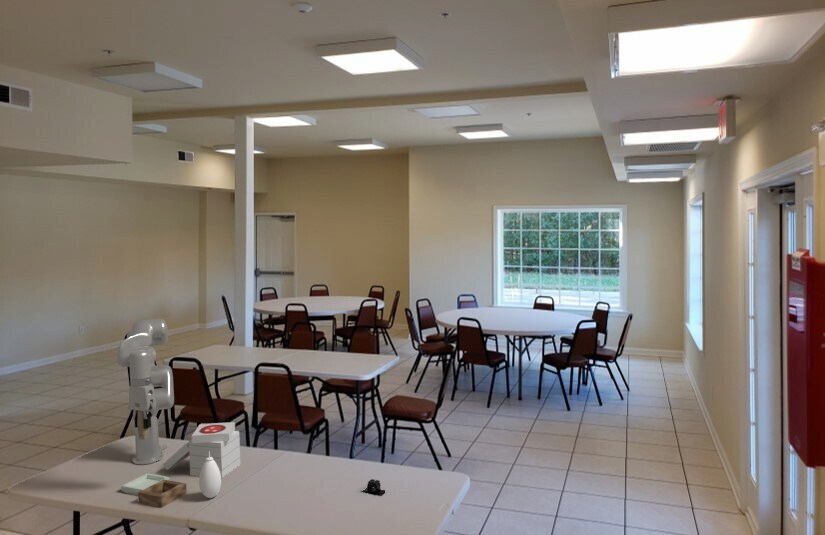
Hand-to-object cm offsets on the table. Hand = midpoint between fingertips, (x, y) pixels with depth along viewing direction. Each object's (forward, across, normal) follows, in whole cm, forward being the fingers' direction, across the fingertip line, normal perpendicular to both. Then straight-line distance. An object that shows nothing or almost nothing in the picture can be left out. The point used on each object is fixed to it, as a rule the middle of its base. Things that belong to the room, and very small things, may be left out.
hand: (143, 426), depth 235 cm
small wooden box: (+25, -14, +5) cm, 29 cm away
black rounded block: (+25, -88, -28) cm, 95 cm away
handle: (+5, 0, 0) cm, 5 cm away
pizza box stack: (+25, -9, -23) cm, 35 cm away
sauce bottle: (+25, -31, -2) cm, 40 cm away
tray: (+25, 0, 0) cm, 25 cm away
